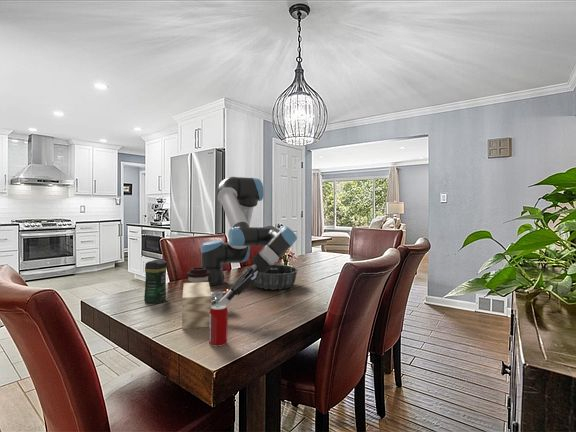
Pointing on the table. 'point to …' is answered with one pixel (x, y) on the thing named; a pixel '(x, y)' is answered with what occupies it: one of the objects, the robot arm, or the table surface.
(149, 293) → the coffee jar
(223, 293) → the red plug
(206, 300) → the block
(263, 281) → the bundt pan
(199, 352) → the table surface
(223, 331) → the soda can
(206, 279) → the coffee cup
